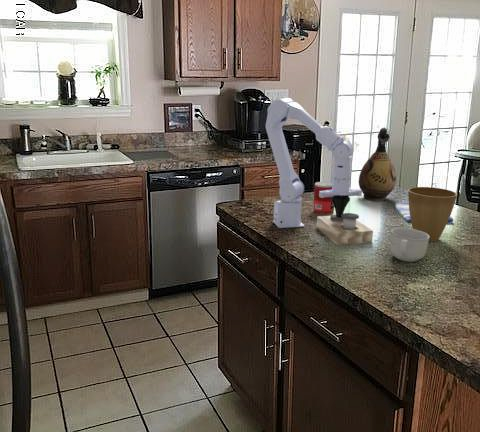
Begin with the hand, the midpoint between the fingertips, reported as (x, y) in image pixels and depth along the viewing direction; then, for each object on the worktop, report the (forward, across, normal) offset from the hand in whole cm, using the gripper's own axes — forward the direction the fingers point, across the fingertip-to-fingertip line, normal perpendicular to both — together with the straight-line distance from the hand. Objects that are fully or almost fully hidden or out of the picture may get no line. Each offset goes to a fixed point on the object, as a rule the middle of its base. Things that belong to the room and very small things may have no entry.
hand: (339, 217), depth 179 cm
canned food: (+5, +4, +25) cm, 26 cm away
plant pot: (+5, +26, -13) cm, 30 cm away
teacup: (+5, +9, -30) cm, 32 cm away
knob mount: (+5, 0, -4) cm, 7 cm away
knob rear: (+4, 0, 0) cm, 4 cm away
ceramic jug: (+5, +34, +42) cm, 54 cm away
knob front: (+1, 0, -9) cm, 9 cm away
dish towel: (+6, +40, +14) cm, 43 cm away
